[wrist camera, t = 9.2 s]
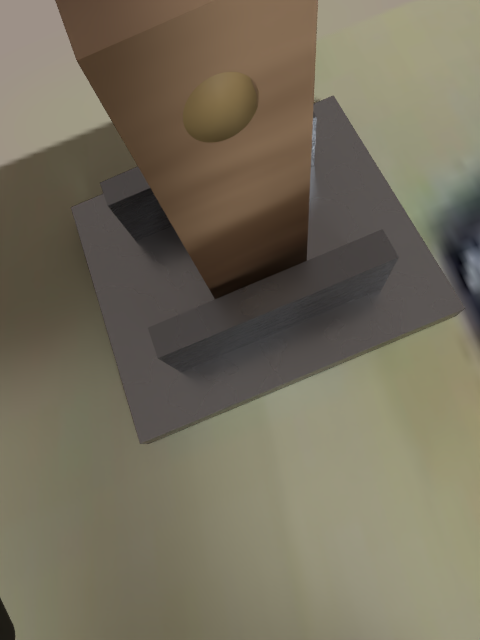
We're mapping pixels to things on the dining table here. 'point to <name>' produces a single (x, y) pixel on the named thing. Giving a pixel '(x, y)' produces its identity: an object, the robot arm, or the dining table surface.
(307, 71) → the brown wooden block
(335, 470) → the dining table surface
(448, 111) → the dining table surface
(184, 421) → the keeper bracket
